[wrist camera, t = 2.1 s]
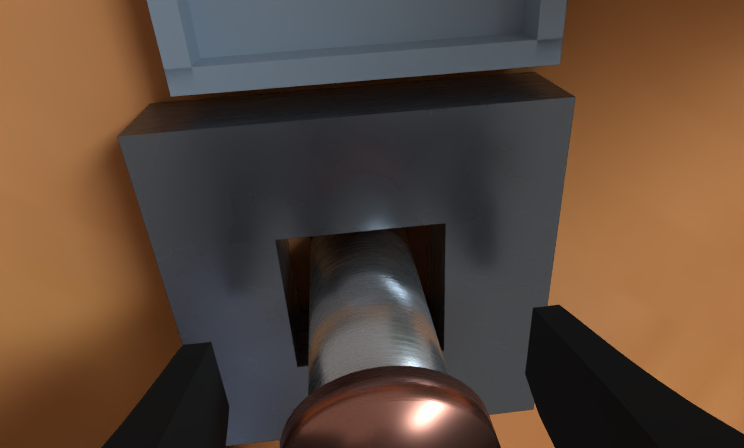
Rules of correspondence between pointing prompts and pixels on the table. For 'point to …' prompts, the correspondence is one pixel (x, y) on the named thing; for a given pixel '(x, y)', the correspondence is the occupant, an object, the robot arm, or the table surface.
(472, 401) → the pin
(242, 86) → the tray
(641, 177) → the table surface
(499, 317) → the hitch block
